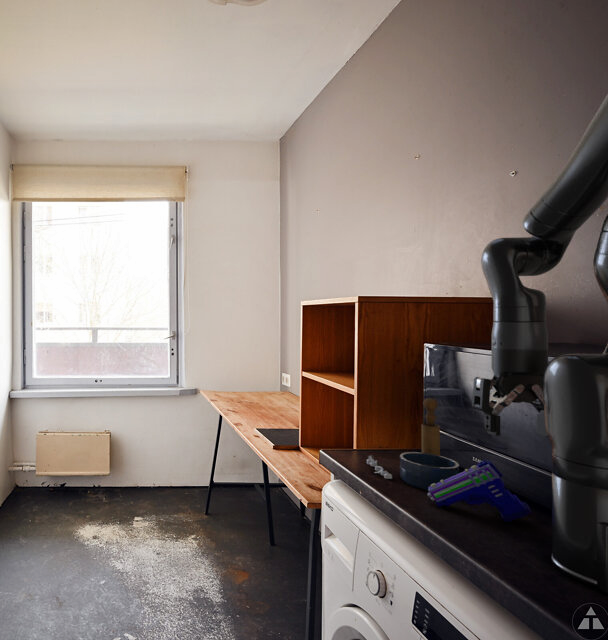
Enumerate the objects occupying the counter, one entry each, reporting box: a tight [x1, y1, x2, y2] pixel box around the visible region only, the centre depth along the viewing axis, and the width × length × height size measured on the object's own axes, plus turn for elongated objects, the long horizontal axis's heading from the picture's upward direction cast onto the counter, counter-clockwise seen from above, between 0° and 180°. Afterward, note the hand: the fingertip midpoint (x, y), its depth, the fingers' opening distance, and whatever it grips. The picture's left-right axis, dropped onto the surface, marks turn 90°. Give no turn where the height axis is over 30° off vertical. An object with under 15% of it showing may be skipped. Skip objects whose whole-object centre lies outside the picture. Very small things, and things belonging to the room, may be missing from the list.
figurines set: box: [366, 454, 393, 480], centre depth 105 cm, size 12×3×3 cm, turn 170°
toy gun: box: [427, 459, 532, 523], centre depth 82 cm, size 4×13×10 cm
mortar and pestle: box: [420, 397, 441, 456], centre depth 107 cm, size 7×6×18 cm
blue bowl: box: [399, 451, 460, 491], centre depth 97 cm, size 11×11×6 cm
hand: (519, 435), depth 75 cm, fingers open, 8 cm apart
